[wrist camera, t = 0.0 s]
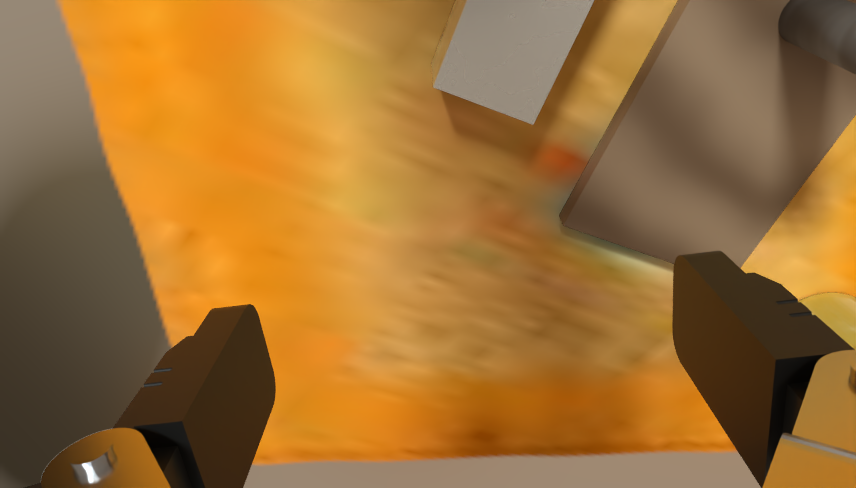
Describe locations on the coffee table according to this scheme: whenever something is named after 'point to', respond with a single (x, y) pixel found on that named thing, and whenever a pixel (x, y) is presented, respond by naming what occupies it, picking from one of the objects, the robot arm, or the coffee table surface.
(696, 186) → the hinge base
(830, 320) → the plant pot
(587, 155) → the coffee table surface
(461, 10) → the hinge leaf
